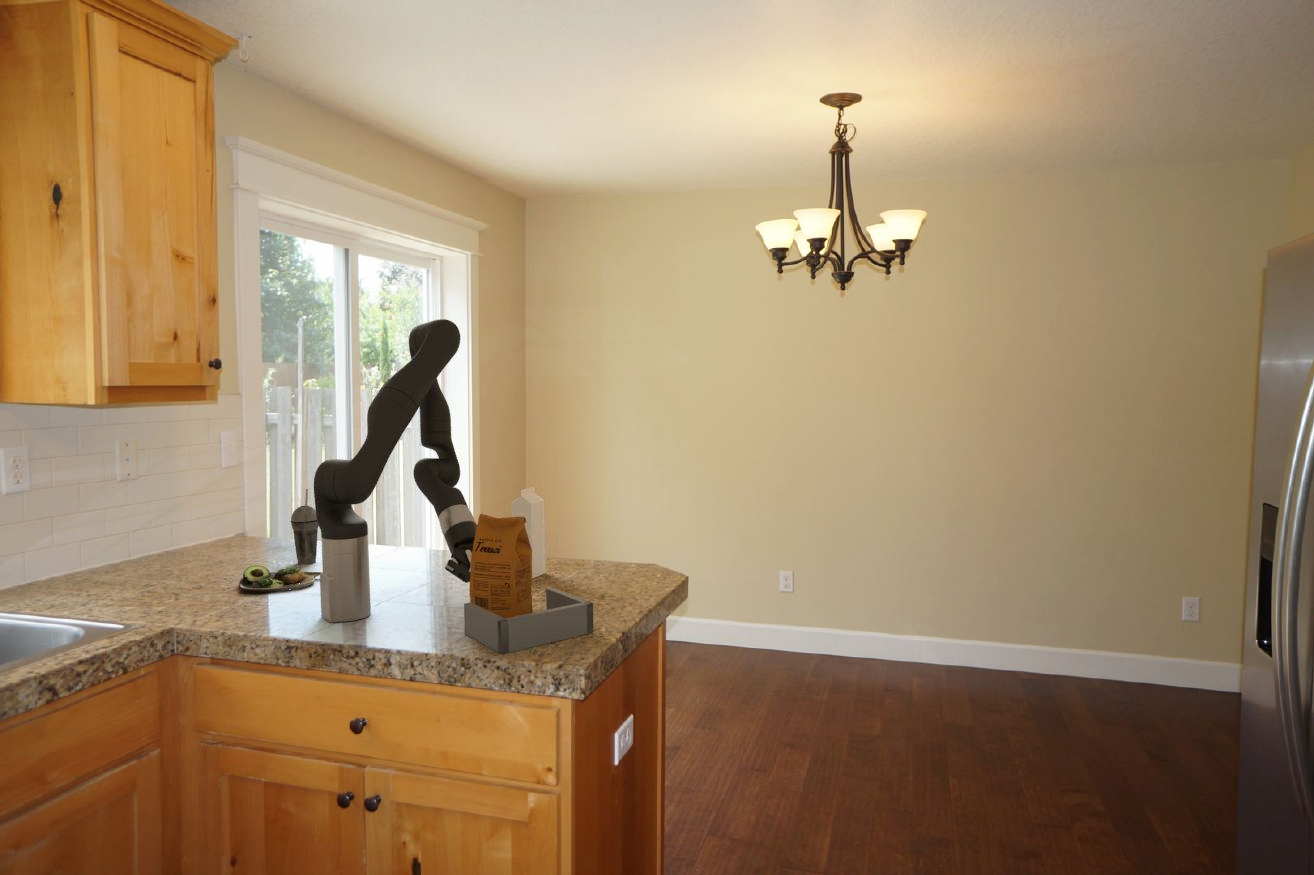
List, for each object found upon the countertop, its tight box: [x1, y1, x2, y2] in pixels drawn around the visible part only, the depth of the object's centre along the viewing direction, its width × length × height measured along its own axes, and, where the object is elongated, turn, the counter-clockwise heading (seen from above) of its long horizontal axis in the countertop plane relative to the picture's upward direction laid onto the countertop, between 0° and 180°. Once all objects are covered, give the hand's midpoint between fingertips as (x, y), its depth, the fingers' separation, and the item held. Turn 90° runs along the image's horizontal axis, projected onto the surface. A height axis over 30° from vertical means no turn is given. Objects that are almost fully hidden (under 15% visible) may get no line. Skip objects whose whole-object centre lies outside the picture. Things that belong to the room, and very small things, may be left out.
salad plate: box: [238, 564, 321, 595], centre depth 209 cm, size 19×18×5 cm
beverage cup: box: [290, 488, 319, 565], centre depth 231 cm, size 7×7×20 cm
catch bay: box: [463, 587, 594, 655], centre depth 168 cm, size 20×16×6 cm
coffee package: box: [469, 513, 534, 618], centre depth 176 cm, size 10×12×22 cm
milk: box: [510, 486, 547, 579], centre depth 215 cm, size 6×6×22 cm
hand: (486, 594), depth 182 cm, fingers closed
